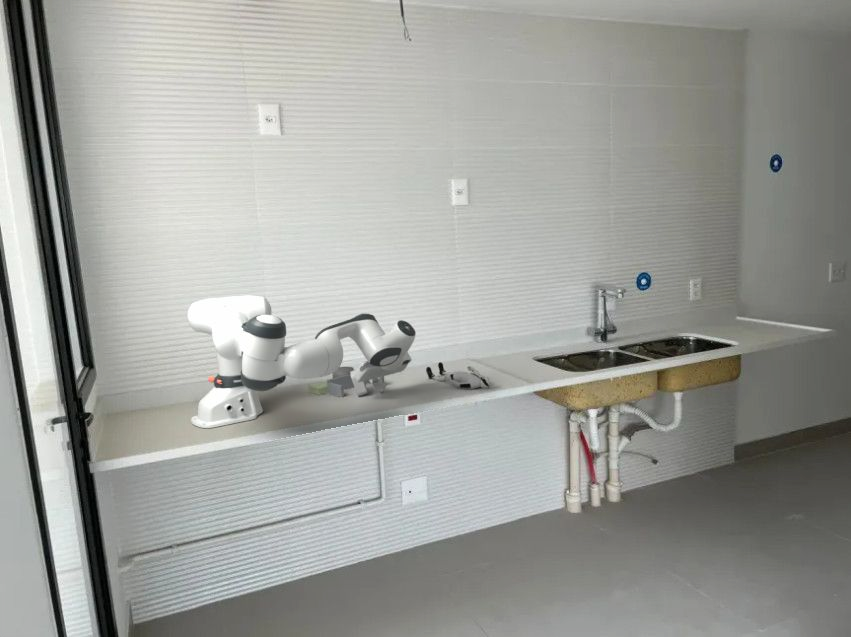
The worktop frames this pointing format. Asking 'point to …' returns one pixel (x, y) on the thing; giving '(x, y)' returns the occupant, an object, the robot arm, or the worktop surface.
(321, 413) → the worktop surface
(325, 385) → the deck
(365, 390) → the wall hook
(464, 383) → the figurine
